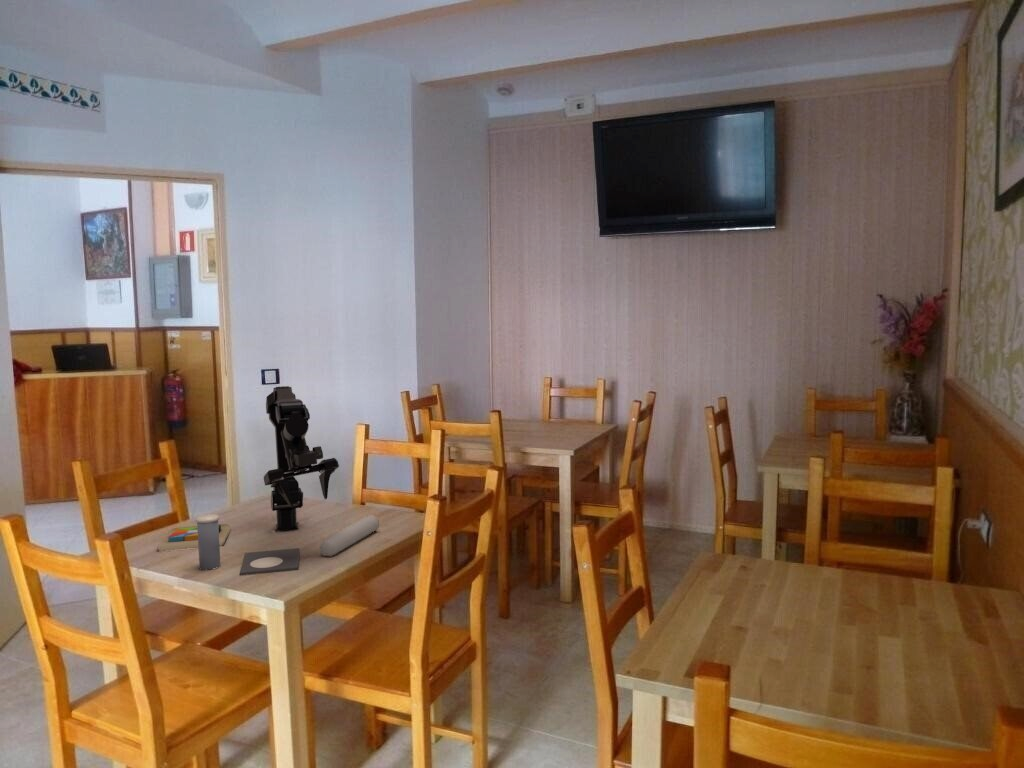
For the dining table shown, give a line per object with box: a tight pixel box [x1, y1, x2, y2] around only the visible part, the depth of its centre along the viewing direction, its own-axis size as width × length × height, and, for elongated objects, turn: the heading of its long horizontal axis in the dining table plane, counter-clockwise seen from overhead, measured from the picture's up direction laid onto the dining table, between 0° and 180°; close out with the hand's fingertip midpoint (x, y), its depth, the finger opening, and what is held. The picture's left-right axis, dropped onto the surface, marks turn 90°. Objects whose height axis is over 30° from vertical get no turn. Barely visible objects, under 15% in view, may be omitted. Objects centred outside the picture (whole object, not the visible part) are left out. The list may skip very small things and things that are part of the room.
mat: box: [239, 547, 300, 576], centre depth 194 cm, size 16×14×1 cm
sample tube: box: [195, 513, 221, 570], centre depth 190 cm, size 5×5×13 cm
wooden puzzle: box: [157, 522, 232, 552], centre depth 214 cm, size 18×19×4 cm
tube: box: [319, 514, 380, 557], centre depth 209 cm, size 5×5×25 cm
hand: (309, 502), depth 195 cm, fingers open, 9 cm apart
